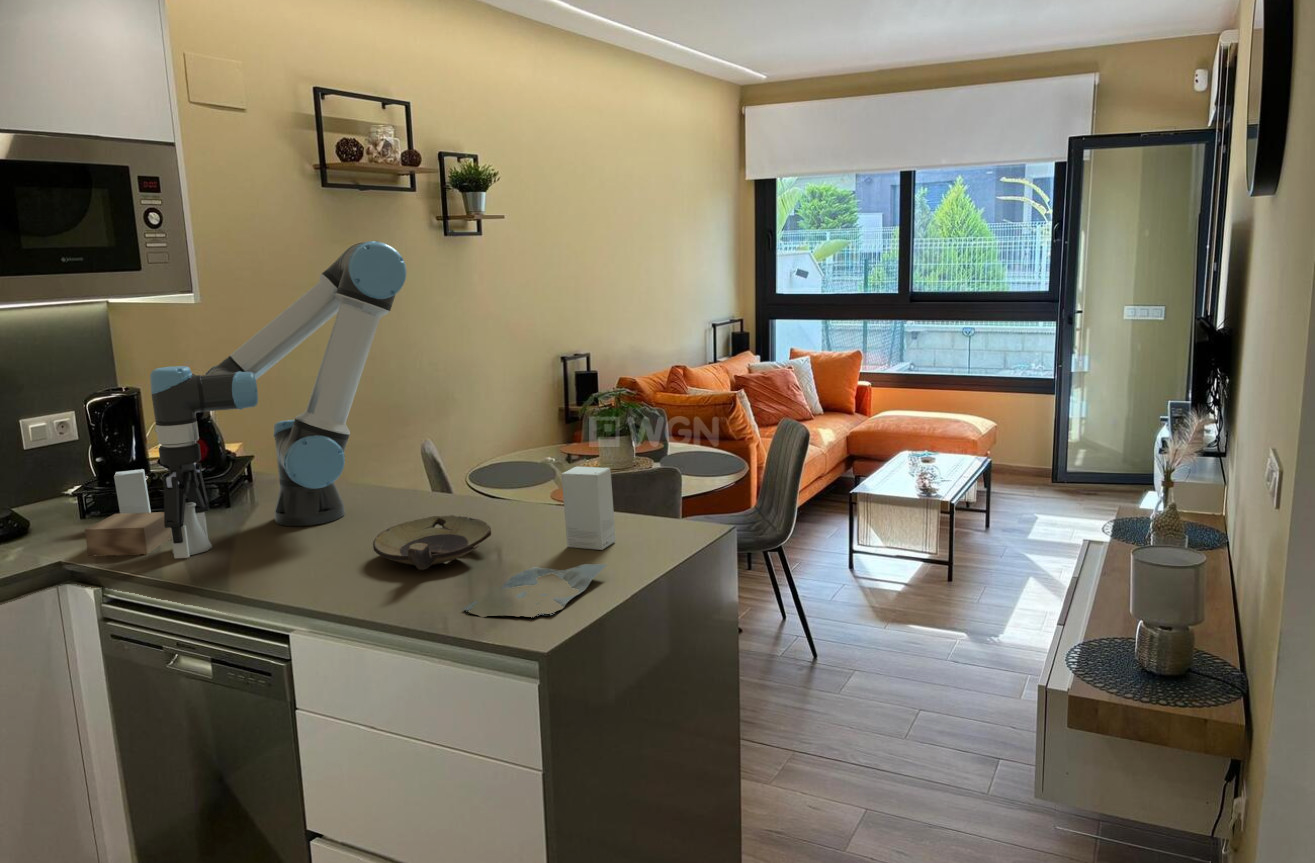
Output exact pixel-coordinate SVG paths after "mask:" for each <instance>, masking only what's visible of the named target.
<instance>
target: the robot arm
mask: <svg viewBox="0 0 1315 863" xmlns="http://www.w3.org/2000/svg"><path fill="white" fill-rule="evenodd" d="M406 279H407V267H406V263H405V261H404V258H403V257H402V255H401V253H399V251H398V250H396V248H394V247H392V246H391V245H389V244H386V243H385V242H380V241H377V240H376V241H375V240H371V241H370V240H369V241H363V242H358V243H356V244H353V245H351V246H350V247H348V248H347V249H346V250H344V252H343V253H341V255H340V256H339V257H338V258H336V260H335V261H334V262H333V263H332V264H331V265H330V266H329V267H328V268H327V269H326V270H324V271H323V272H322V273H320V275H319V281H318V282H317V283H316V284H315V285H313V286H312V287H311V288H310V289H309V290H308V291H306V292H304V294H302V296H300V297H299V298H297V300H295V301H294V302H293V303H291V304H290V305H289V306H288V307H287V308H286V309H285V310H283V311H282V312H280V313H279V314H278V315H277V316H276V317H275V318H273V319H272V320H270V322H269V323H267V324H266V325H265V326H264V327H262V328H261V329H260V330H258V331H257V332H256V333H255V334H254V335H253V336H251V337H250V338H248V340H247V341H245V342H244V343H243V344H241V345H240V346H239V347H238V348H237V349H236V350H234V351H233V352H232V353H231V354H230V355H229V356H228V357H226V358H225V359H223V360H222V361H221V362H220V363H219V364H218V365H217V364H216V365H215V366H212V367H211V368H210V369H208V371H206V373H205V374H201V375H199V374H198V375H197V374H193V373H192V371H191V368H190V367H189V366H185V365H178V366H176V365H174V366H172V365H171V366H165V367H158V368H155V369H153V370H152V371H151V372H150V376H149V377H150V379H149V380H150V391H151V392H150V393H151V394H150V395H151V399H152V400H151V401H152V407H153V408H152V409H153V413H154V421H155V428H154V432H155V433H156V436H157V443H158V444H159V445H160V446H159V447H158V455H159V461H160V462H159V463H160V464H161V465H163V466H167V467H168V468H169V469H168V470H169V471H168V476H164V477H162V479H161V480H162V487H163V512H164V525H165V528H171V535H172V539H171V541H172V542H171V544H172V550H173V551H174V553H173V557H174V559H188V557H189V558H190V556H191V555H189V547H188V538H187V530H186V526H183V524H184V512H185V503H186V500H187V501H188V502H187V503H191V502H193V503H196V506H195V513H196V516H197V519H198V522H199V524H200V526H201V527H202V529H203V531H204V533H205V535H206V536H207V538H208V539H209V537H208V536H209V533H208V528H207V527H208V526H207V518H206V512H209V511H210V506H209V498H208V495H207V494H208V493H207V491H206V486H205V482H204V477H203V472H202V463H201V462H199V461H201V459H202V452H201V445H200V443H199V442H198V441H199V439H200V436H199V435H200V434H199V427H198V421H197V413H205V412H215V411H217V412H218V411H229V410H243V409H248V408H254V407H256V406H257V405H258V403H259V392H258V385H257V380H258V379H259V378H260V377H262V376H263V375H264V374H265V373H267V372H268V371H269V370H270V369H271V368H272V367H273V366H275V365H276V364H277V363H279V362H280V361H281V360H282V359H284V358H285V357H286V356H287V355H289V354H290V353H291V352H292V351H293V350H294V349H296V348H297V347H298V346H299V345H301V344H302V343H303V342H304V341H305V340H306V339H307V338H309V337H310V336H311V335H312V334H314V333H315V332H316V331H317V330H318V329H319V328H321V327H322V326H323V325H324V324H326V323H327V322H328V321H330V320H331V319H332V318H333V317H335V316H336V317H335V320H334V323H333V326H332V329H331V332H330V335H329V339H328V342H327V344H326V347H325V350H324V354H323V357H322V360H321V363H320V367H319V368H318V372H317V375H316V379H315V381H314V384H313V387H312V390H311V394H310V396H309V400H308V402H307V405H306V409H305V410H304V412H302V413H300V414H298V415H296V416H295V418H294V419H288V420H281V421H277V422H276V423H274V426H273V432H274V433H273V438H274V441H275V452H276V460H277V461H276V462H277V469H278V471H277V472H278V480H279V492H278V495H277V500H276V505H275V509H274V521H275V523H276V524H277V525H280V526H286V527H306V526H314V525H320V524H326V523H330V522H333V521H334V522H335V521H336V520H339V519H340V518H343V516H345V514H346V511H345V504H344V502H343V500H342V497H341V495H340V492H339V490H338V488H337V486H336V483H335V482H336V481H337V480H338V479H339V478H340V476H341V475H342V473H343V471H344V468H345V462H346V459H345V457H346V456H345V450H346V447H347V444H348V441H349V437H350V435H351V431H350V429H349V428H348V425H347V420H348V417H349V415H350V411H351V408H352V405H353V402H354V399H355V396H356V393H357V390H358V386H359V384H360V381H361V377H362V375H363V372H364V369H365V366H366V364H367V363H366V362H367V360H368V356H369V353H370V350H371V347H372V345H373V341H374V338H375V336H376V332H377V329H378V327H379V322H380V321H381V320H380V319H381V318H382V317H384V316H386V315H388V314H390V312H391V310H392V307H393V305H394V301H395V298H396V295H397V294H398V293H399V292H400V291H401V289H402V288H403V287H404V285H405V282H406Z"/></svg>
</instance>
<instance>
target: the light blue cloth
mask: <svg viewBox="0 0 1315 863" xmlns="http://www.w3.org/2000/svg"><path fill="white" fill-rule="evenodd" d="M607 566H608V564H595V563H594V564H592V563H591V564H590V563H585V564H580V565H577V566H575V567H570V568H567V569H555V568H545V567H538V566H532V568H529V569H525V570H523V571H521V572H518V573H516V574H514V575H512V576H511V577H510V578H509V579H508V580H507V581H505V582H504V583H503V584H502V586H501V587H500V588H508V587H509V588H512V587H517V586H523V585H535V584H537V583H538V582H537V580H538V579H537V580H536V579H535V578H538V577H539V576H542V577H544V576H543V575H547V574H549V573H554V574H553V575H555V574H556V575H557V576H558V577H559V578H560V579H559V578H558V577H557V576H556V575H555V576H556V577H557V578H558V579H559V580H561V579H563V580H565V581H567V582H568V584H569V585H570V586H571V588H575V589H578V590H579V593H577V594H576V593H575V594H576V595H574V594H573V595H574V596H572V595H570V596H563V597H564V598H558V597H555V598H553V600H554V601H556V602H557V603H559V604H561V606H563V607H564V608H565V606H566V605H567V604H568V602H570V600H572V599H573V598H575V597H576V596H578V595H580V594H581V593H582V592H584V591H585V590H586V589H588V587H589V585H590V584H591V582H592V581H593V579H594V578H595V577H597V576H598V575H599V573H601V572H602V571H603V570H604V569H605V568H606V567H607ZM549 575H550V574H549ZM565 581H564V582H565ZM535 586H536V585H535ZM512 589H513V588H512ZM522 591H523V590H522ZM522 591H520V592H521V593H520V592H519V593H517V594H518V595H517V594H515V595H516V598H519V599H520V598H524V597H525V596H526V595H527V593H526V591H523V592H522ZM547 594H548V593H546V594H541V595H542V596H547ZM477 603H478V602H477V601H474V602H472V603H470V604H468V605H466V606H464V607H463V608H462V610H463V611H465V613H466V612H467V611H469V610H471V609H472V608H473V606H474V604H477ZM535 604H536V603H535ZM537 604H540V603H538V602H537ZM537 604H536V605H537ZM544 614H546V613H541V614H539V615H537V617H538V616H541V615H542V616H545V615H544ZM554 614H555V613H553V614H550V615H549V616H553V615H554ZM531 618H532V617H531ZM532 619H533V618H532Z"/></svg>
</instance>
